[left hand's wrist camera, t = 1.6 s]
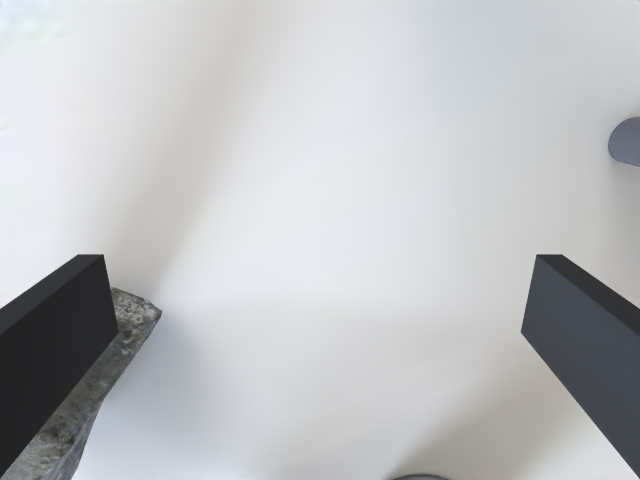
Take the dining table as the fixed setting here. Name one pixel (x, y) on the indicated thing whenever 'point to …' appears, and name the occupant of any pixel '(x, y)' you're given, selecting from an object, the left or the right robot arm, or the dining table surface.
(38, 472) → the concrete block
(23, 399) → the left robot arm
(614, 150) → the jar
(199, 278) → the dining table surface
